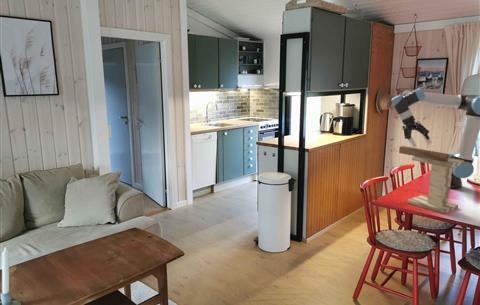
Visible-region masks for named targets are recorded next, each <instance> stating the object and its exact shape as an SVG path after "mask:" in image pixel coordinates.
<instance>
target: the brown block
mask: <svg viewBox="0 0 480 305" xmlns="http://www.w3.org/2000/svg"><path fill="white" fill-rule="evenodd" d="M398 149H399V150H398V153H399V154H403V155H408V156H412V157H414V156H417V157H422V158H427V159H432V160H438V161H443V162H446V161H448V158H449V154H450V153H446V152H445V153H444V152H441V151H440V152H439V151H434V150H428V149H424V148H423V149H422V148H418V147H417V148H416V147H414V148H413V146H405V145H400V146H399V148H398Z"/></svg>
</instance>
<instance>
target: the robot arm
mask: <svg viewBox="0 0 480 305" xmlns="http://www.w3.org/2000/svg"><path fill="white" fill-rule="evenodd" d="M390 102H391V103H392V105H393V108H394V109H395V111H396V113H397V114H398V117H399V118H400V120H401V122H402V123H403V125H402V130H403V136H404V139H405V140H406V139H407V140H408V142H409V143H410V144H411V147H412V148H416V147H417V143H416V141H415V140H414V138H413V137H412V133H413V132H412V131H416V132H419V133H420V134H421V135H423V136H422V137H423V139H424V140H425V142H426V145H427V146H430V145H431V144H432V141H431V138H430V136H429V134H430V130H428V129H427V128H426V127H425V126H424V125H423V124H422V123H421V121H420V120H418V121H415V120H416V119H415V116H414V115H413V113H412V111H411V110H410V106H413V105H414V104H416V103H420V104H428V105H436V106H444V107H451V108H454V109H456V110H462V111H465V117H466V121H465V125H464V128H463V131H462V135H461V138H460V142H459V146H458V149H457V152H456V153H448V154H449V158H453V159H459V160H464V164H462V165H458V166H454V167H453V169H452V176H451V184H450V189H451V190H453V189H455V190H458V189H462V187H463V180H462V179H466V178H469V177H471V175H472V174H473V173H474V171H475V168H474V165H473V163H474V157H473V154H474V150H475V147H476V144H477V140H478V138H479V134H480V95H478V94H457V95H454V94H445V93H438V92H437V93H435V92H428V91H424V90H423V89H422V88H421V87H419V88H416V89H414V90H411V89H407V90H404V91H403V92H402V94H398V95H397V96H394V97H393V98H391V101H390Z"/></svg>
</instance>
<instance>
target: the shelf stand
mask: <svg viewBox="0 0 480 305" xmlns="http://www.w3.org/2000/svg"><path fill="white" fill-rule="evenodd" d="M411 158H412V159H411V161H413V162H414V161H415V162H419V163H424V164H429V165H431V166H430V167H431V169H430V174H429V175H430V177H429V186H428V195H425V194H420V195H418V196H415V197H411V198H408V199H407V204H410V205H413V206H417V207H419V208H422V209H423V208H424V209H426V210H429V211H432V212H433V211H434V212H436V213H439V214H442V215H444V214H447V213H449V212H452V211H455V210H457V209H459V204H456V203H453V202H449V197H450V190H451V188H450V184H451V176H452V169H453V167H454V166H458V165H462V164H464V160H459V159H453V158H448V161H446V162H443V161H438V160H432V159H427V158H422V157H417V156H412V157H411Z"/></svg>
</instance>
